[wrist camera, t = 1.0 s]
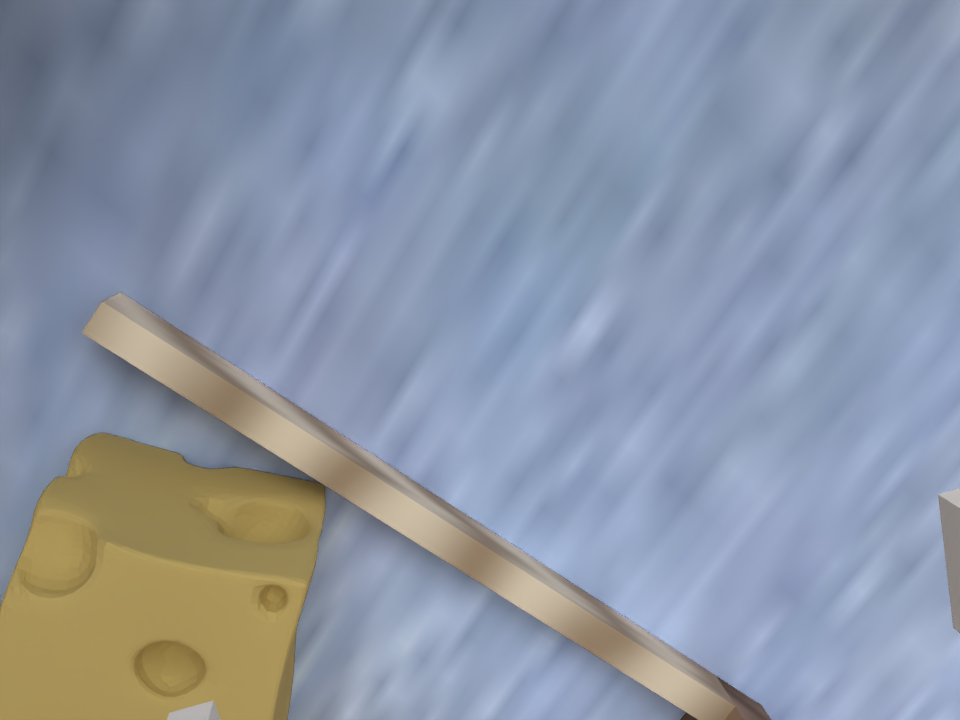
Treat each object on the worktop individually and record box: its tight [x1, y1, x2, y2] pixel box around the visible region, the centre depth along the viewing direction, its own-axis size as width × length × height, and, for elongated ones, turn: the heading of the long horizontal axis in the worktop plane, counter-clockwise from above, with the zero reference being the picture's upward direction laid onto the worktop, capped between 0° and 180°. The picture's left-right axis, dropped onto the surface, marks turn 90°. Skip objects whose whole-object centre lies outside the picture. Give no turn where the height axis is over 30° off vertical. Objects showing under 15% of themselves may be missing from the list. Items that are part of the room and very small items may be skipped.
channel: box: [82, 292, 771, 720], centre depth 39 cm, size 36×17×6 cm, turn 54°
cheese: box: [0, 433, 325, 720], centre depth 35 cm, size 10×11×10 cm
